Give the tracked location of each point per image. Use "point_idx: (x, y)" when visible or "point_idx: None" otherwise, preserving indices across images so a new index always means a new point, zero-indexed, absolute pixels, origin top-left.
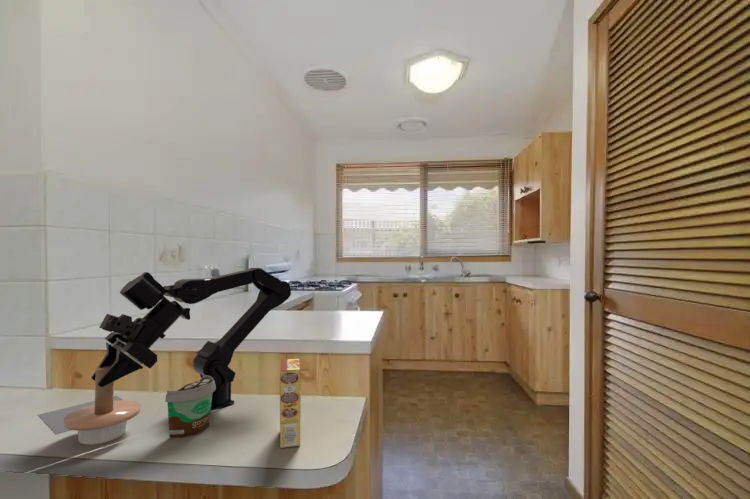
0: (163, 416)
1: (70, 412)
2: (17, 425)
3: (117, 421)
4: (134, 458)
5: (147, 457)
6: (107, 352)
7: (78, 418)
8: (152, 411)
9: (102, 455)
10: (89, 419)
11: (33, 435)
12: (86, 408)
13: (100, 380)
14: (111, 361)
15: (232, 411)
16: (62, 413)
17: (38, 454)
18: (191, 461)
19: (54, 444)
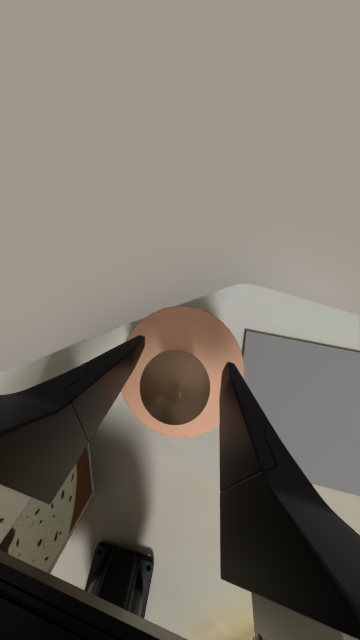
0: (168, 467)
1: (335, 388)
2: (344, 322)
3: None
4: (80, 345)
5: (66, 355)
6: (305, 504)
7: (188, 325)
8: (211, 475)
9: (126, 331)
10: (165, 332)
11: (277, 318)
12: (229, 359)
13: (133, 339)
14: (237, 461)
15: (56, 565)
16: (341, 378)
17: (203, 296)
18: (3, 374)
19: None
